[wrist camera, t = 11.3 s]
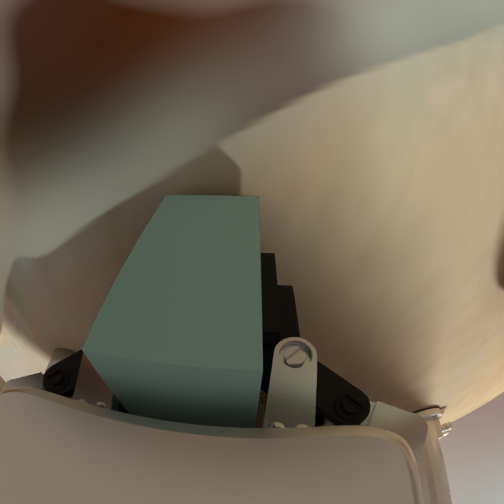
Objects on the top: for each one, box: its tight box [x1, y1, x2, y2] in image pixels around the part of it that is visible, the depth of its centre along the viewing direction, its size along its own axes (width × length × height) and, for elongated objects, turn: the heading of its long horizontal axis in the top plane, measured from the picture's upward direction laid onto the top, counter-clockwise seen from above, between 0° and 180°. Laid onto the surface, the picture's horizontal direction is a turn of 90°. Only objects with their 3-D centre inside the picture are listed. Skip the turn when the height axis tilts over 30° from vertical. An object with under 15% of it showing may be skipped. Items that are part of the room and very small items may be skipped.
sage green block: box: [82, 195, 263, 428], centre depth 13 cm, size 4×18×7 cm, turn 178°
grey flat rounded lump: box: [46, 348, 76, 371], centre depth 19 cm, size 5×5×2 cm
